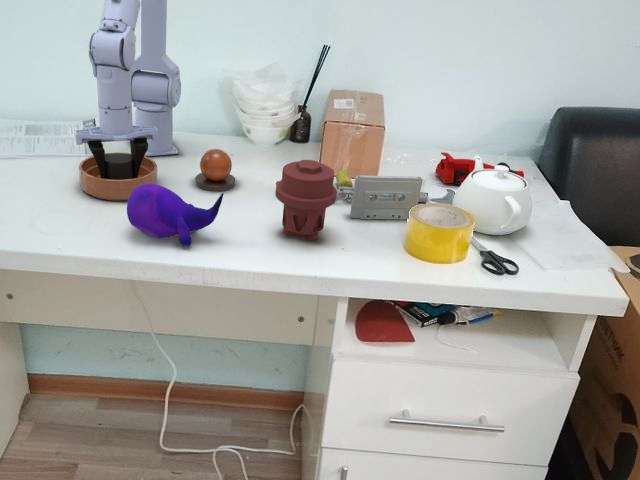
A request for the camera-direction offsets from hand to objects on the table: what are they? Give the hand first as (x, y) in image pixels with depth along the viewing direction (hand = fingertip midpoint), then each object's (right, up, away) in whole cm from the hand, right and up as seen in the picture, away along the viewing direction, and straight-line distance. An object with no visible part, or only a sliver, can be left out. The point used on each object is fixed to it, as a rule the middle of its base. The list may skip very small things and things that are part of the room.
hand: (119, 179), depth 133 cm
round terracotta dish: (0, -1, +1) cm, 1 cm away
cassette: (+48, -8, -3) cm, 49 cm away
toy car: (+71, +3, +15) cm, 73 cm away
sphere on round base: (+17, 0, +5) cm, 18 cm away
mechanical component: (+33, -12, -11) cm, 37 cm away
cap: (0, -1, +1) cm, 1 cm away
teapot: (+67, -8, -2) cm, 68 cm away
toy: (+12, -13, -14) cm, 23 cm away
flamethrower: (+43, -2, +5) cm, 44 cm away
